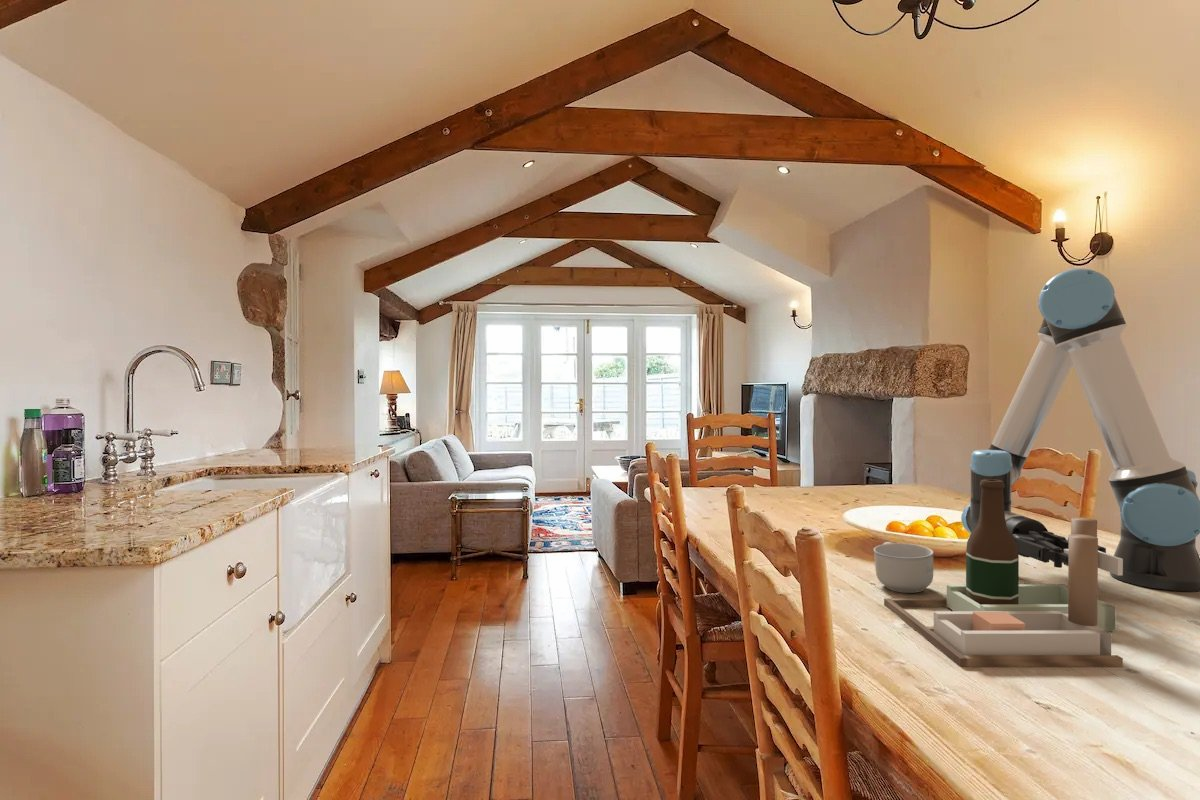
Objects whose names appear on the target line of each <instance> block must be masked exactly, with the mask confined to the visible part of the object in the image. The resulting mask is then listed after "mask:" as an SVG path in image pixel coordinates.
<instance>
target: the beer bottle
mask: <svg viewBox="0 0 1200 800" xmlns="http://www.w3.org/2000/svg"><path fill="white" fill-rule="evenodd" d="M980 486H981V487H982V489H981V502H980V515H979V521H978V525H977V527H976V528H975V529H974V530H973V531H972V533H969V537H968V539H967V542H966V550H965V584H966V596H967V597H969V598H970V599H972V600H974V601H975V602H977V603H979V604H980V605H992V604H1018V599H1019V584H1020V583H1019V578H1020V577H1019V574H1020V573H1019V568H1020V567H1019V566H1020V565H1019V564H1020V559H1019V558H1020V555H1018V547H1017V544H1016V542H1015V539H1014V537H1013V536H1012V534H1011V533H1010V532H1009V530H1008V529H1007V526H1006V521H1005V510H1004V496H1003V488H1004V487H1005V484H1004V482H1003V481H1001V480H997V479H984V480H981V482H980Z"/></svg>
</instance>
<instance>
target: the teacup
mask: <svg viewBox="0 0 1200 800" xmlns="http://www.w3.org/2000/svg"><path fill="white" fill-rule="evenodd" d="M873 553H874V565H875V574H876V577H877V579H878V580H879V582H880V583H881V584H882V585H884V586H885V587H886V588H887V589H888V590H891V591H893V592H896V593H897V592H898V593H904V594H915V593H920V592H922V591H924V590H925V589H926V588H928V587H929V586H930V585H931V584H932V582H933V579H934V553H935V552H934V550H933V549H932V548H930V547H927V546H924V545H920V544H914V543H906V542H905V543H902V542H901V543H900V542H898V543H896V542H891V541H885V542H884V543H882V544H879V545H877V546H875V547H873Z"/></svg>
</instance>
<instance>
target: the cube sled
mask: <svg viewBox="0 0 1200 800" xmlns="http://www.w3.org/2000/svg"><path fill="white" fill-rule="evenodd" d="M1068 537H1069V552H1068V566H1067V568H1068V569H1067V570H1068V575H1067V576H1068V581H1067V582H1068V583H1067V586H1068V612H1067V611H953V610H952V611H949V610H947V611H943V610H942V611H940V610H939V611H938V610H937V611H935V610H934V611H933V626H934V633H935V634H936V635H938V636H939V637H940V638H942V639H943V640H944V641H945V642H947V643H948V644H949V645H951V646H952V647H953V648H954V649H956V650H957V651H958V652H960V653H961V654H962V655H1112V633H1111V631H1106V630H1104V629H1102V628H1099V627H1097V626H1096V625H1097V612H1098V599H1099V598H1098V597H1099V596H1098V592H1099V591H1098V589H1099V588H1098V587H1099V582H1098V581H1099V579H1098V578H1099V574H1098V573H1099V571H1098V570H1099V568H1098V546H1099V538H1098V536H1097V537H1094V536H1089V535H1081V534H1071V533H1070V534H1068ZM973 612H1006V613H1008V614H1010V615H1011V616H1013V617H1015V618H1016V619H1018V620H1020V621H1022V622H1023V623H1025V630H1022V631H973Z"/></svg>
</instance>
